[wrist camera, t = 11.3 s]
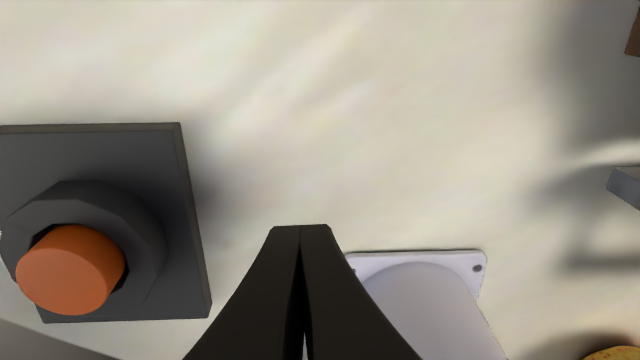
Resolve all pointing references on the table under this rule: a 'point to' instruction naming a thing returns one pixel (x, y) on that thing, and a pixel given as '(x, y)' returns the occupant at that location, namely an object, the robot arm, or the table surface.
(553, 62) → the table surface
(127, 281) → the block
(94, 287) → the button
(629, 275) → the table surface
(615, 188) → the drawer
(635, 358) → the apple
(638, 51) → the cabinet
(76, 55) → the table surface
